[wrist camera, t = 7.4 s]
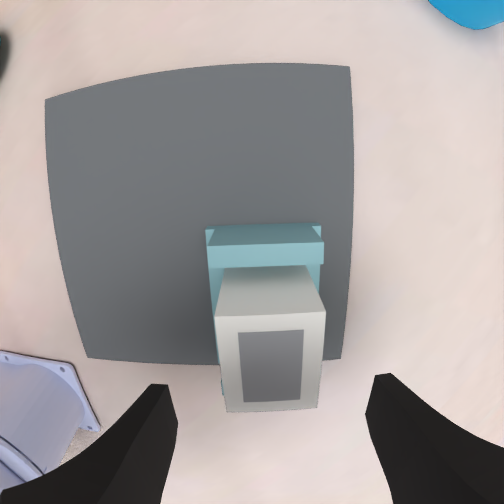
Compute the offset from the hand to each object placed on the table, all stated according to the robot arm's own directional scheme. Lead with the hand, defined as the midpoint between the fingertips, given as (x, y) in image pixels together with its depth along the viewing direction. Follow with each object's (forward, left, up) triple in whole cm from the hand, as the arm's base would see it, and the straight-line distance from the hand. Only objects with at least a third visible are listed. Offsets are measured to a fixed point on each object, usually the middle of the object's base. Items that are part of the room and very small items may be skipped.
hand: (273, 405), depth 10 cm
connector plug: (0, 0, -8) cm, 8 cm away
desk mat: (-4, +4, -9) cm, 11 cm away
